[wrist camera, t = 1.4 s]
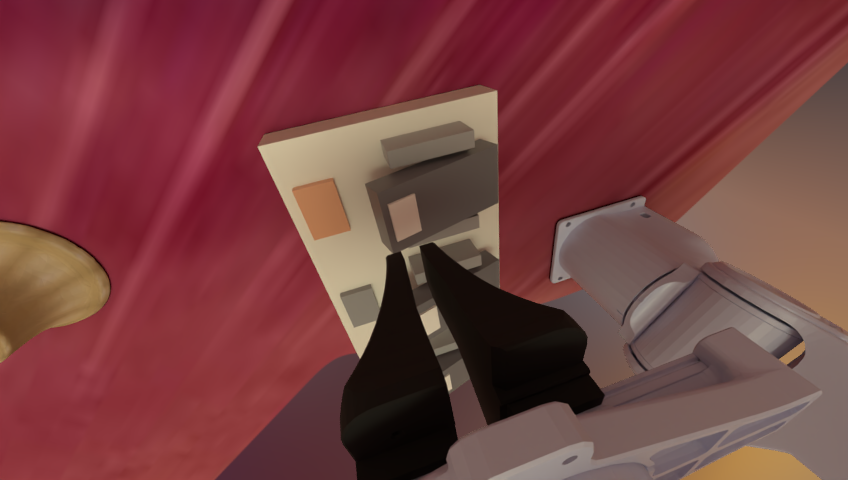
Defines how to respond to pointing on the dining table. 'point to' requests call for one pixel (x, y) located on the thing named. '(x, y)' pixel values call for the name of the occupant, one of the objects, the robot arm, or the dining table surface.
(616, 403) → the robot arm
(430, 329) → the rocker middle
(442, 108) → the switch panel
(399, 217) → the rocker
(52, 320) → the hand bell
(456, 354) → the block
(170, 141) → the dining table surface
